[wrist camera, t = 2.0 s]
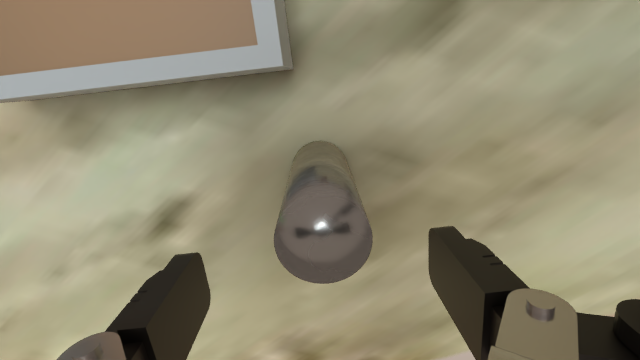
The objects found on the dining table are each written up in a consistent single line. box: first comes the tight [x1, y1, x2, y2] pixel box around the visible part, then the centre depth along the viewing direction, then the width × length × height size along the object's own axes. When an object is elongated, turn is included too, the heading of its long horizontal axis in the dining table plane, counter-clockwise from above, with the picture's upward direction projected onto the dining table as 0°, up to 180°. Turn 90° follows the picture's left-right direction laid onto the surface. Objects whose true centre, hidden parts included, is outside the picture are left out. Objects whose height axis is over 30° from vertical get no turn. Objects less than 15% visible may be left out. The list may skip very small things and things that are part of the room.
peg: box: [274, 141, 372, 284], centre depth 18 cm, size 4×4×11 cm
